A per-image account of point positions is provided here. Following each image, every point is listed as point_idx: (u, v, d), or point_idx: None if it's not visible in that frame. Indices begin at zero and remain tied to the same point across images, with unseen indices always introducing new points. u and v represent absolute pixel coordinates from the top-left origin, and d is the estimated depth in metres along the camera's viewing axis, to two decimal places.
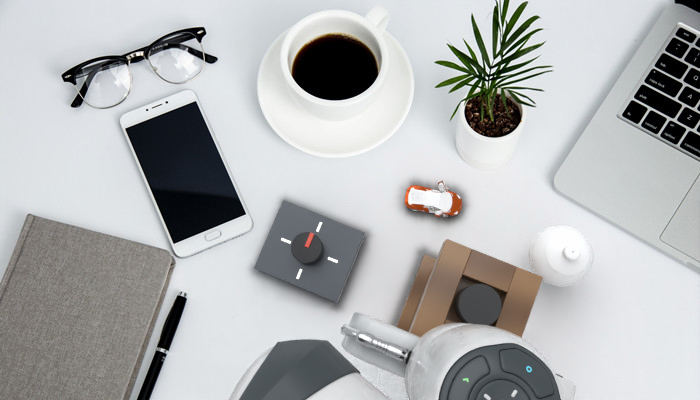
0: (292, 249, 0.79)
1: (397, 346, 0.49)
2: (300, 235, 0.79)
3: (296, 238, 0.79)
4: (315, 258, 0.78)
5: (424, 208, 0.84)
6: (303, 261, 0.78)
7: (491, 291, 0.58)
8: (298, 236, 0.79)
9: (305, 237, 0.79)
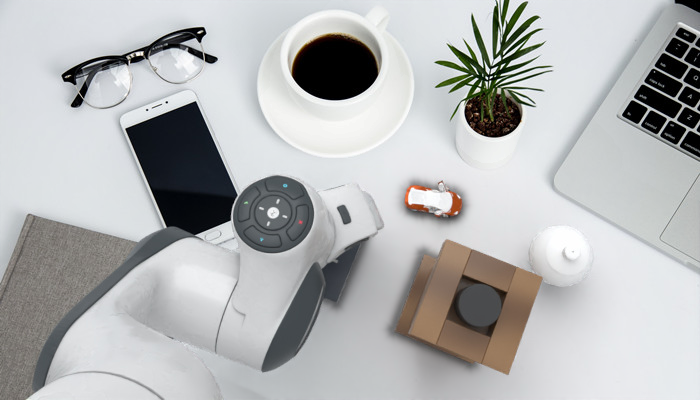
0: None
1: None
2: None
3: None
4: None
5: (424, 208, 0.84)
6: None
7: (491, 291, 0.58)
8: None
9: None
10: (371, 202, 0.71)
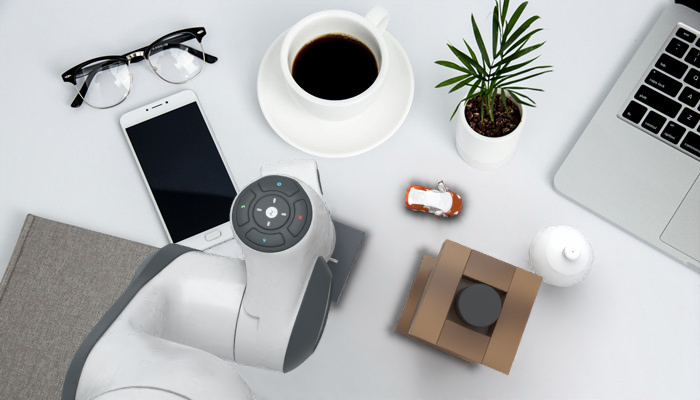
0: None
1: None
2: None
3: None
4: None
5: (424, 208, 0.84)
6: None
7: (491, 291, 0.58)
8: None
9: None
10: None
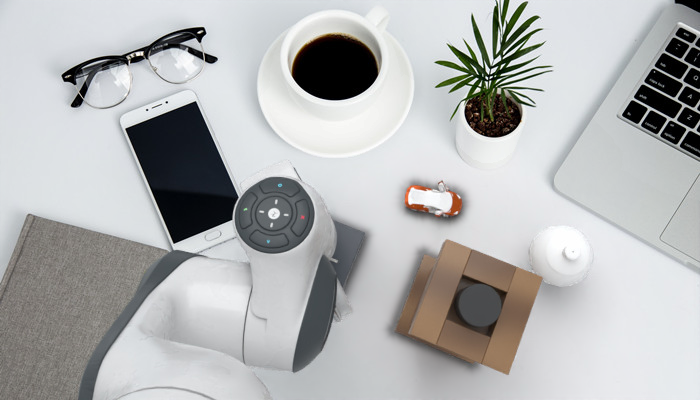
0: None
1: None
2: None
3: None
4: None
5: (424, 208, 0.84)
6: None
7: (491, 291, 0.58)
8: None
9: None
10: None
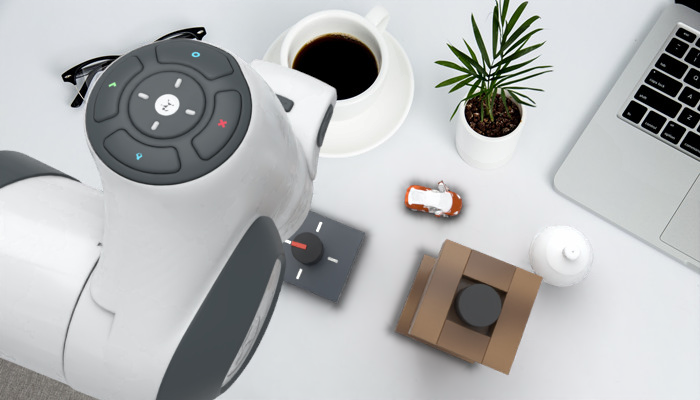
0: (309, 261, 0.78)
1: None
2: (295, 255, 0.78)
3: (298, 258, 0.78)
4: (316, 237, 0.79)
5: (424, 208, 0.84)
6: (320, 248, 0.78)
7: (491, 291, 0.58)
8: (296, 257, 0.78)
9: (296, 249, 0.79)
10: None
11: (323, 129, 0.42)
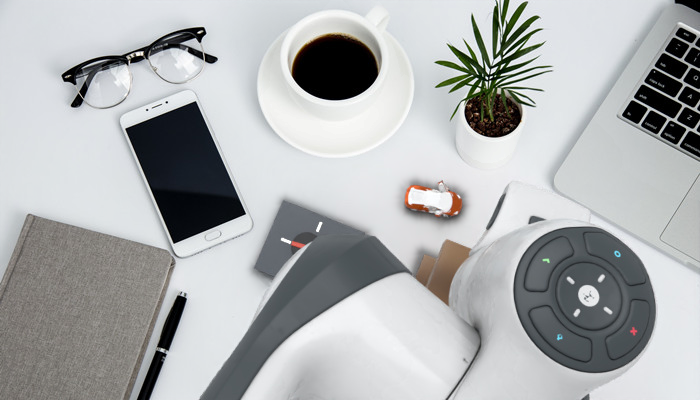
0: None
1: None
2: None
3: None
4: (316, 237, 0.79)
5: (424, 208, 0.84)
6: None
7: None
8: None
9: (296, 249, 0.79)
10: None
11: None
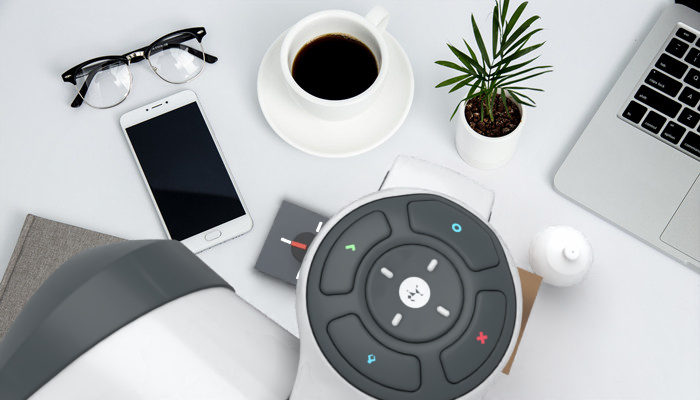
0: None
1: None
2: (295, 255, 0.78)
3: (298, 258, 0.78)
4: None
5: None
6: None
7: None
8: (296, 257, 0.78)
9: (296, 249, 0.79)
10: None
11: None
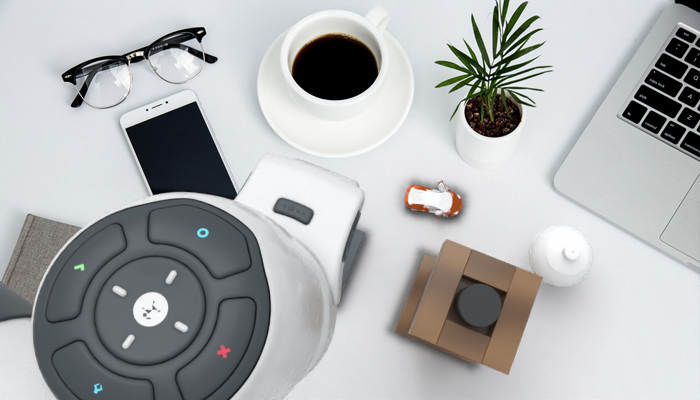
0: None
1: None
2: None
3: None
4: None
5: (424, 208, 0.84)
6: None
7: (491, 291, 0.58)
8: None
9: None
10: (312, 165, 0.38)
11: (349, 239, 0.35)
